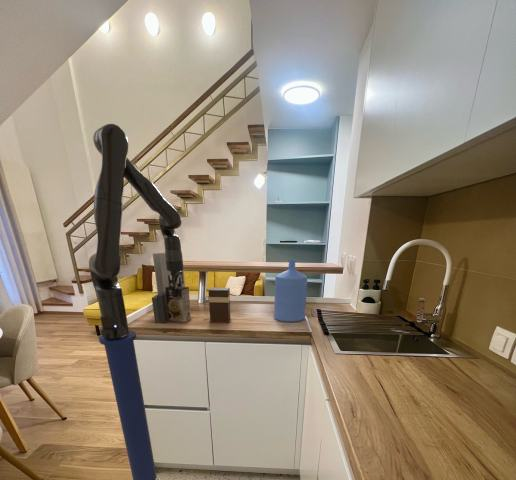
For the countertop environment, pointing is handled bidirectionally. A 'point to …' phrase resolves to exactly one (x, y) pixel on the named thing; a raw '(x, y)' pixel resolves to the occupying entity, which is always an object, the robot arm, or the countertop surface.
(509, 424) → the countertop surface
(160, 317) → the grey books
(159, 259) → the tall grey box
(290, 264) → the water jug
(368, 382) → the countertop surface
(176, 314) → the coffee box
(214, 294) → the box
